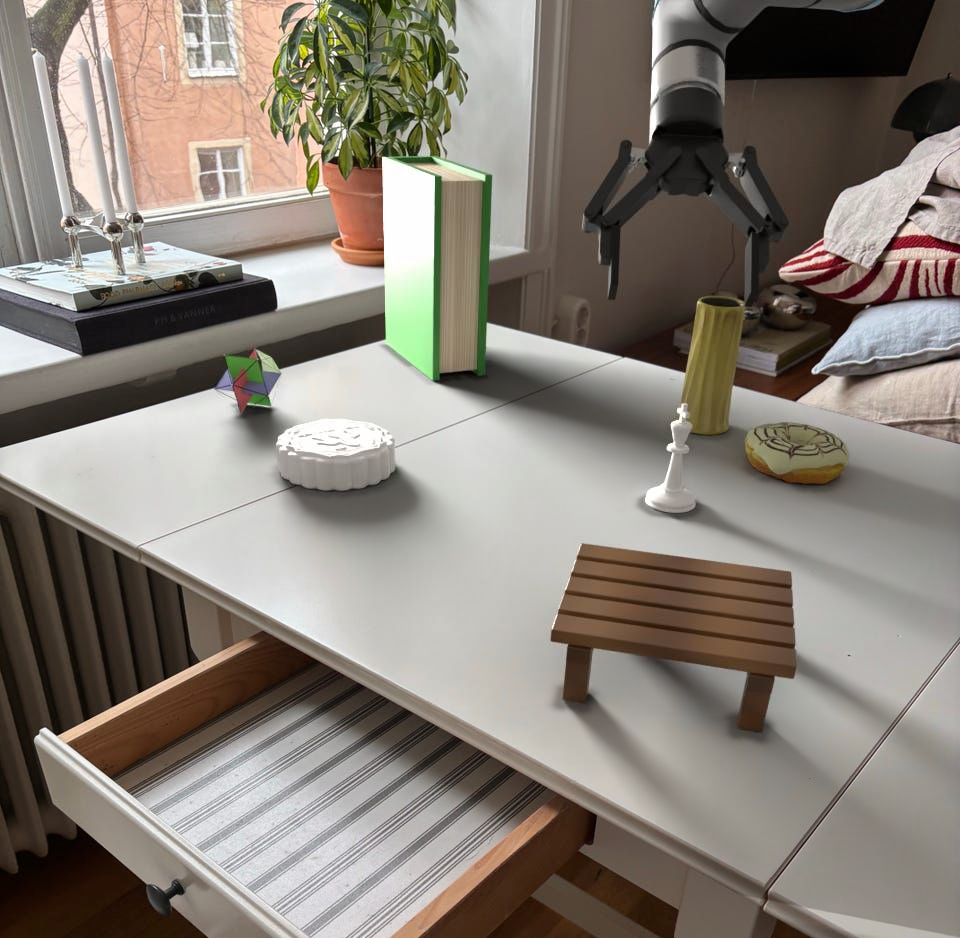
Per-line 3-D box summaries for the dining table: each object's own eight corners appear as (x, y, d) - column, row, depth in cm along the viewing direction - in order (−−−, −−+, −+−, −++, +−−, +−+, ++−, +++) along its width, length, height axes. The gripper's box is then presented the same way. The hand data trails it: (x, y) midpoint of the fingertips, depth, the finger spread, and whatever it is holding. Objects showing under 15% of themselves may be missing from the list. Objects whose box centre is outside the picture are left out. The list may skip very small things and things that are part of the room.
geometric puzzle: (255, 407, 110) (270, 338, 111) (199, 400, 112) (214, 332, 112) (280, 427, 117) (293, 362, 118) (227, 420, 119) (241, 356, 119)
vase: (698, 413, 120) (717, 292, 112) (739, 428, 116) (761, 303, 108) (665, 423, 116) (682, 299, 109) (706, 439, 112) (727, 311, 105)
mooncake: (304, 501, 95) (302, 466, 93) (261, 458, 104) (258, 425, 102) (415, 478, 100) (415, 445, 98) (365, 439, 109) (364, 408, 107)
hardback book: (484, 375, 130) (492, 174, 117) (432, 380, 127) (434, 176, 114) (434, 339, 143) (435, 155, 130) (385, 343, 141) (382, 156, 128)
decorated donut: (774, 492, 100) (781, 457, 98) (724, 453, 109) (729, 420, 107) (863, 483, 103) (871, 449, 101) (807, 446, 112) (814, 413, 110)
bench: (777, 631, 78) (791, 569, 75) (780, 737, 66) (797, 669, 63) (575, 601, 80) (581, 540, 78) (544, 698, 69) (550, 631, 66)
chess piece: (658, 515, 95) (672, 414, 90) (637, 494, 99) (649, 397, 94) (704, 510, 96) (721, 411, 91) (681, 490, 100) (696, 393, 95)
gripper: (798, 141, 105) (798, 322, 101) (563, 131, 106) (553, 309, 101) (820, 88, 98) (821, 280, 93) (568, 77, 99) (557, 267, 94)
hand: (681, 296), depth 97 cm, fingers open, 13 cm apart
